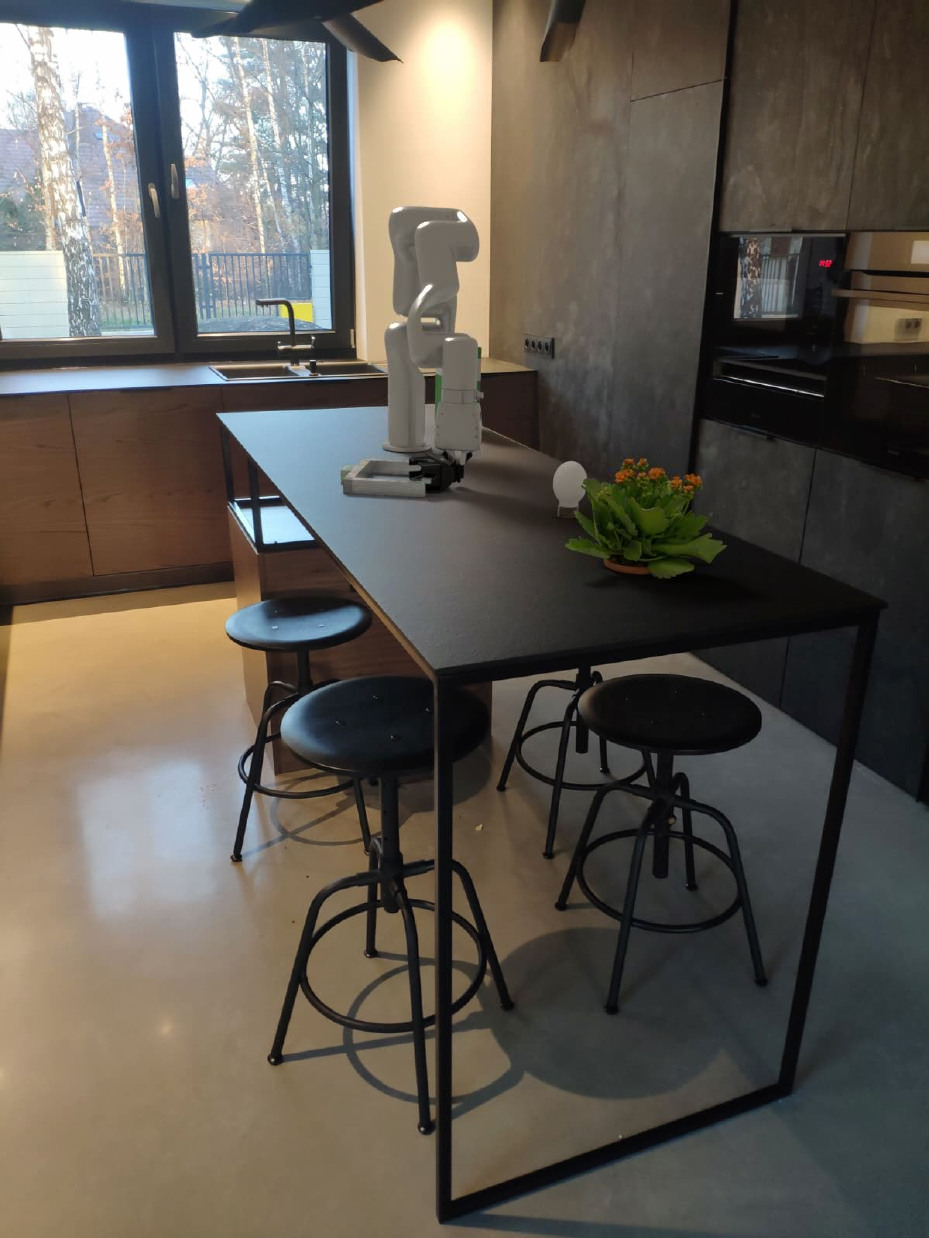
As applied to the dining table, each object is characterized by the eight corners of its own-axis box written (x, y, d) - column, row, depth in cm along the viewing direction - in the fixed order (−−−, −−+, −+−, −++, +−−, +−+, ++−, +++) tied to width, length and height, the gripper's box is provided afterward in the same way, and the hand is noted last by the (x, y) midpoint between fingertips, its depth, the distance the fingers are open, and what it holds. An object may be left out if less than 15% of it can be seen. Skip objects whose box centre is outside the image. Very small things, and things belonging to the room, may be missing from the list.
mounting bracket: (353, 470, 220) (353, 454, 219) (443, 474, 219) (443, 458, 217) (331, 492, 200) (331, 474, 199) (430, 497, 198) (430, 480, 197)
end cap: (454, 492, 203) (455, 461, 201) (423, 494, 201) (423, 463, 198) (437, 482, 212) (438, 452, 209) (407, 484, 209) (408, 453, 207)
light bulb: (557, 521, 184) (561, 465, 180) (546, 512, 190) (549, 458, 186) (590, 519, 185) (594, 464, 181) (577, 511, 191) (581, 457, 187)
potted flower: (586, 594, 145) (595, 482, 139) (533, 549, 166) (539, 450, 160) (730, 583, 152) (745, 476, 145) (661, 541, 173) (672, 446, 167)
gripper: (494, 396, 204) (491, 479, 211) (426, 393, 205) (425, 476, 212) (492, 400, 197) (489, 487, 204) (421, 398, 198) (421, 483, 205)
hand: (456, 481), depth 208 cm, fingers closed
